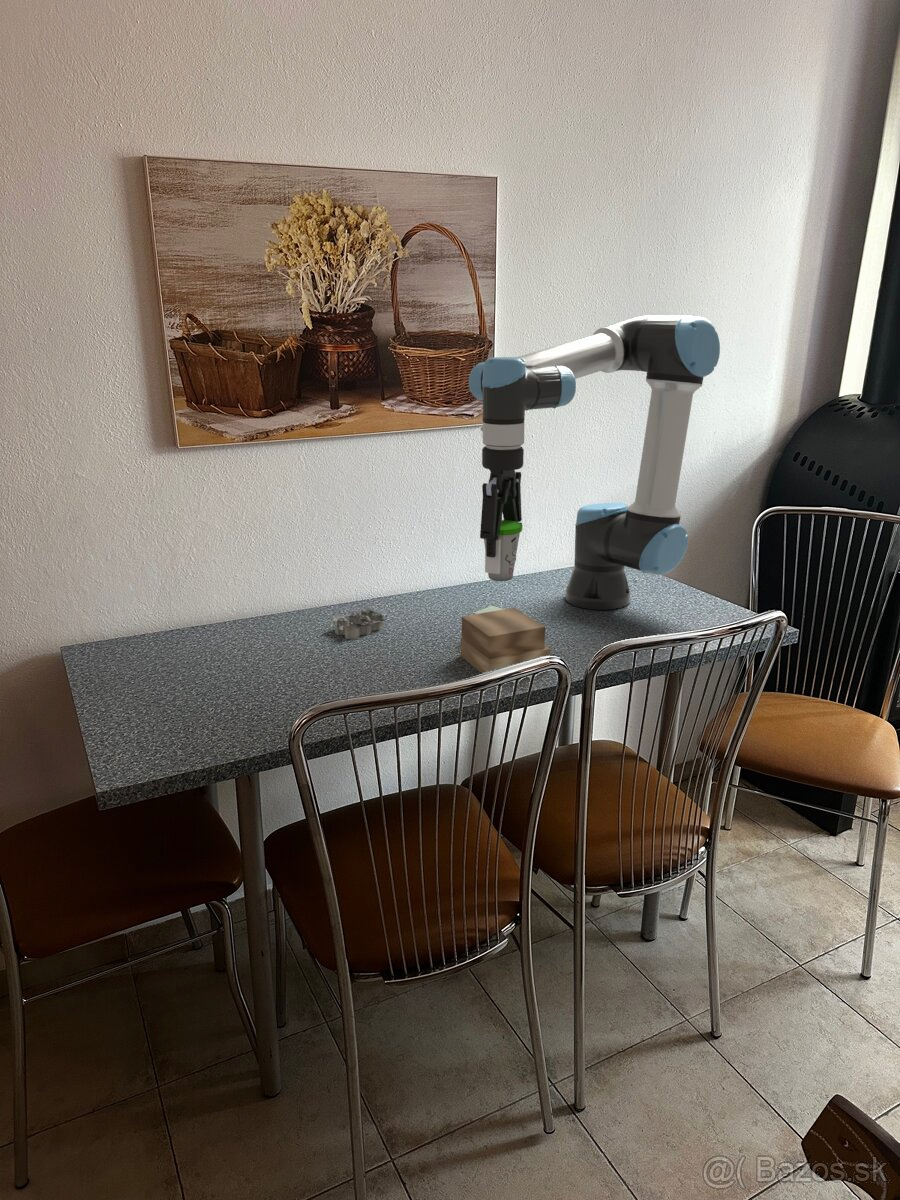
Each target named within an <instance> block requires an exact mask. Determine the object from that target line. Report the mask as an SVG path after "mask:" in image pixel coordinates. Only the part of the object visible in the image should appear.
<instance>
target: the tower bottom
mask: <svg viewBox="0 0 900 1200" xmlns="http://www.w3.org/2000/svg"><path fill="white" fill-rule="evenodd" d="M546 655H550V656H551V648H549V647H548V646H546V645H545V648H544V649H539V650H534V651H528V652H523V653H518V654H513V655H508V656H502V657H497V658H492V659H489V658H487V657H486V656H485V655H484V654H482V653H481V652H480V651H478V650H477V649H476V648H475V647H473V646H472V645H471V644H469V643H468V642H467V641H466V640H464V639H463V638H462V636H460V657H462V659H464V660H465V661H467V662H468V663H469V664H470V665H471V666H472V667H473V668H474V669H476V670H477V671H478V672H479V673H481V674H482V672H486V671H490V670H494V669H497V668H501V667H504V666H508V665H512V664H516V663H520V662H523V661H527V660H530V659H534V658H537V657H540V656H546Z"/></svg>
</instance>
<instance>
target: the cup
mask: <svg viewBox="0 0 900 1200" xmlns="http://www.w3.org/2000/svg"><path fill="white" fill-rule="evenodd" d="M520 523H521V522H515V521H510V520H504V519H503V518H502V519H501V525H500V531H499V538H498V539H501V550H500V573H499V574H494V573H487V575H488V579H490V580H492V581H496V582H507V581H511V580H512V579H513V578H514V573H515V572H514V571H515V564H516V562H515V560H516V561H517V552H518V547H519V541H520V540H519V539H520V535H521V534H520V533H522V531H523V523H522V524H520ZM483 543H484V545H485V539H483Z"/></svg>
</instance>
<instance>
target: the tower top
mask: <svg viewBox="0 0 900 1200" xmlns="http://www.w3.org/2000/svg"><path fill="white" fill-rule="evenodd" d="M503 609H504V608H503ZM461 637H462V638H463V639H464V640H466V641H467V642H468V643H469V644H471V645H472V646H473V647H475V648H476V649H477V650H478V651H480V652H481V653H482V654H484V655H485V656H486V657H487V658H489V659H492V658H497V657H502V656H508V655H513V654H518V653H523V652H528V651H534V650H539V649H544V648H545V646H546V643H545V642H546V641H545V640H546V626H544V625H543V624H542V623H541V622H538V621H537V620H535V619H534V618H532V617H530V615H527V614H526V613H524V612H522V611H521V610H519V609H518V608H516V607H511V608H505V609H504V610H498V611H492V612H486V613H480V614H474V615H473V614H470V615H469V614H468V615H463V616H461Z"/></svg>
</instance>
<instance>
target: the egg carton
mask: <svg viewBox="0 0 900 1200" xmlns="http://www.w3.org/2000/svg"><path fill="white" fill-rule="evenodd" d="M386 619H388V617H387V616H385V617H384V616H383V614H382V613H379V611H376V610H374V609H373V610H372V608H370V607H369V606H366V607H365V608H363V609H361V610H359V611H356V612H354V611H352V612H350V613H348V614H345V615H341V616H340V615H339V616H338V615H337V616H335V617H334V618H333V619H332V621H331V624H334V634H335V635H338V636H340V635H341V636H342V635H344V638H345V639H346V640H350V639H353V640H357V639H359V638H360V636H362V635H366V636H367V635H368V636H369V635H371V634H372V632H373V631H379V632H381V631H383V630H384V628H385V624H384V622H386Z"/></svg>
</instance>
